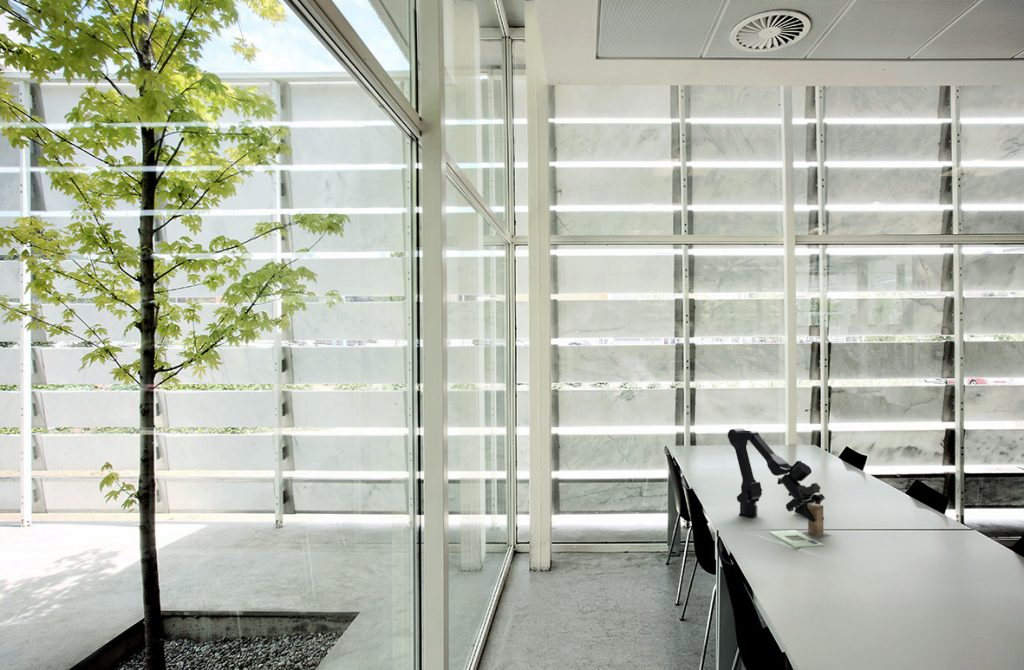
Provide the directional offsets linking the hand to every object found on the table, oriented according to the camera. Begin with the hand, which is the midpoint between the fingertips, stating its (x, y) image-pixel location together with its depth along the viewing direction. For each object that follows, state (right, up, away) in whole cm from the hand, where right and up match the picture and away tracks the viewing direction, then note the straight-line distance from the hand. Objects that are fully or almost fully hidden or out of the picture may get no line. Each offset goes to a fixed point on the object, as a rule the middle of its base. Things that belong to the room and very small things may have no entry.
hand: (818, 520), depth 246 cm
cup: (+9, -7, +30) cm, 32 cm away
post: (-1, -6, +1) cm, 6 cm away
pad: (-1, -7, +1) cm, 7 cm away
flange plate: (-12, -7, -4) cm, 14 cm away
